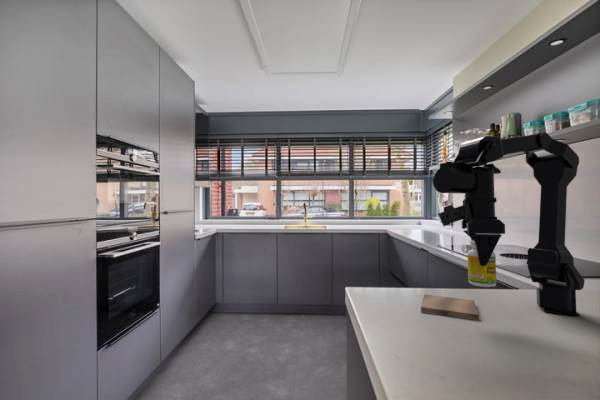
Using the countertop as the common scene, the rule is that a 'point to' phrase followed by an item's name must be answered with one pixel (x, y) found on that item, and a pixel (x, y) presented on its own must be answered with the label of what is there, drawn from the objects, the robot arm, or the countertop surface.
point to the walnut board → (449, 306)
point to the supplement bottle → (481, 269)
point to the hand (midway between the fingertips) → (481, 263)
